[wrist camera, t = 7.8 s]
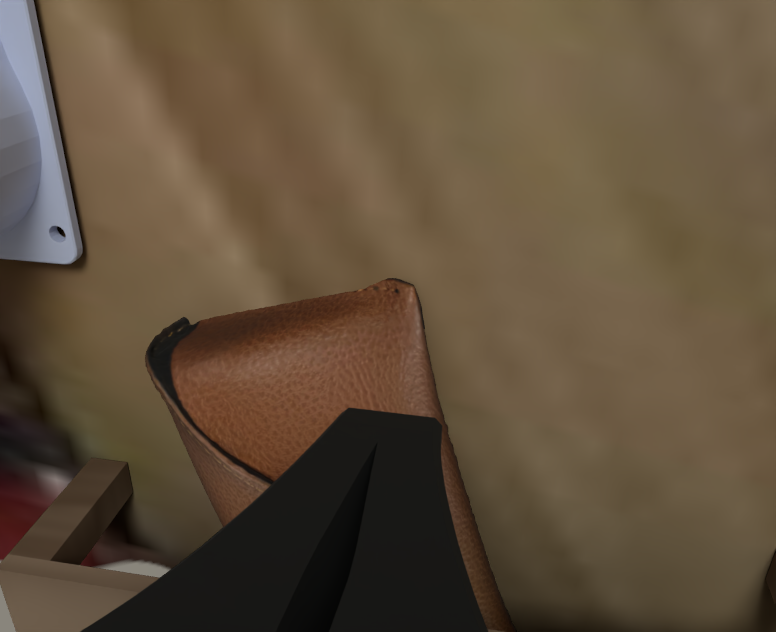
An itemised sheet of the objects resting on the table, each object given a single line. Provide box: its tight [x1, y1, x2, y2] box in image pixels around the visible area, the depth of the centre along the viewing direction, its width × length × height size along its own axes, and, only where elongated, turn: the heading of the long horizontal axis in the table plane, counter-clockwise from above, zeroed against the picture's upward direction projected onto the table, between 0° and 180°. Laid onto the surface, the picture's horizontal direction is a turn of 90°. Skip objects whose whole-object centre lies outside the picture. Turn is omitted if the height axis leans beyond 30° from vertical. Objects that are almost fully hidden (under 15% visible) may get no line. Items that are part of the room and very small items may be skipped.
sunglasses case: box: [145, 278, 517, 632], centre depth 23 cm, size 18×7×7 cm, turn 18°
